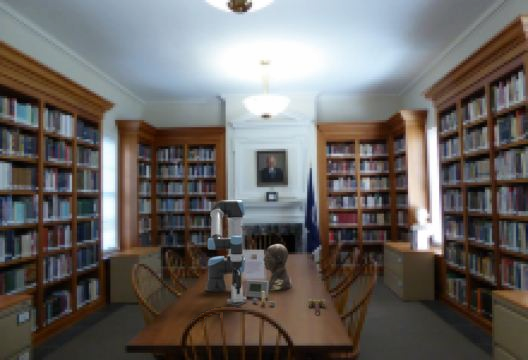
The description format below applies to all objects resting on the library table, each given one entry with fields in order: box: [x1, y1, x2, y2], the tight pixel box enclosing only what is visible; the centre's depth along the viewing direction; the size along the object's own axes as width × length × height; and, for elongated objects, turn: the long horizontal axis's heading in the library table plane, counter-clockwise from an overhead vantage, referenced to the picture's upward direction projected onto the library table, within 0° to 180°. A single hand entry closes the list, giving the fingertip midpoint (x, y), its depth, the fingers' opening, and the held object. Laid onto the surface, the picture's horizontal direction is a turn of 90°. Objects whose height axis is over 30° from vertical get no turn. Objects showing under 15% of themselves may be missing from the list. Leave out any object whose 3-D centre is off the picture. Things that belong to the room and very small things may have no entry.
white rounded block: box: [226, 283, 247, 303], centre depth 244 cm, size 12×6×11 cm, turn 108°
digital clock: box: [244, 279, 270, 299], centre depth 259 cm, size 16×9×11 cm, turn 59°
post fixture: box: [252, 291, 275, 307], centre depth 241 cm, size 15×2×8 cm, turn 58°
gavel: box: [307, 298, 326, 316], centre depth 227 cm, size 21×5×10 cm
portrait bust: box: [263, 243, 292, 291], centre depth 294 cm, size 21×35×31 cm, turn 174°
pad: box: [227, 300, 246, 307], centre depth 244 cm, size 8×8×1 cm
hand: (236, 297), depth 244 cm, fingers closed on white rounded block, 6 cm apart
